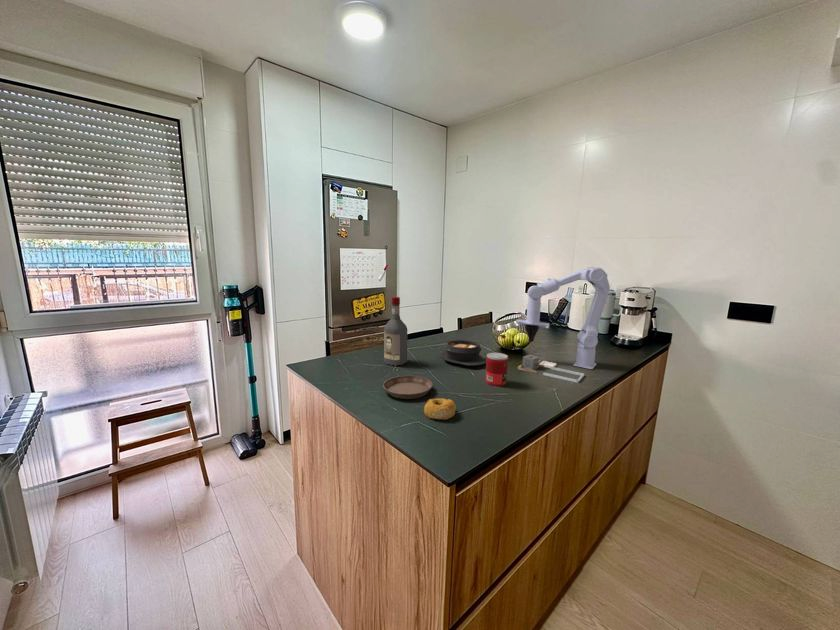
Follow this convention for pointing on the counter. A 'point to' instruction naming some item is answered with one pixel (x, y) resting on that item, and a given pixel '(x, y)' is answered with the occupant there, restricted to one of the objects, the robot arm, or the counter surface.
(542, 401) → the counter surface
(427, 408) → the bagel
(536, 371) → the oak pen
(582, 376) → the metal frame
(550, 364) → the dish
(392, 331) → the liquor
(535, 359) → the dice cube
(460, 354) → the casserole
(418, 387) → the plant saucer
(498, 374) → the canned food
